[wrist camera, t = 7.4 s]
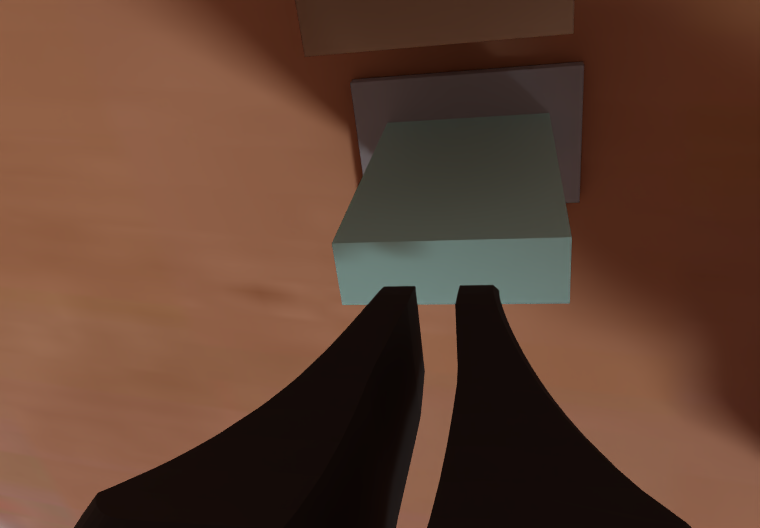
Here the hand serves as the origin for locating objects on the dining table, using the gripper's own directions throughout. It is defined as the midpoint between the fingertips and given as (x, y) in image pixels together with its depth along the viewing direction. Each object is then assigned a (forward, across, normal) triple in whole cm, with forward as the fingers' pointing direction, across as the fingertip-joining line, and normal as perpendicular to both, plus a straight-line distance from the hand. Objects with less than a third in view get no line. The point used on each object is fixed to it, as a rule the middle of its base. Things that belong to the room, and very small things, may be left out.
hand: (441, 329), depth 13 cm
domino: (+10, 0, -6) cm, 12 cm away
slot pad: (+10, 0, 0) cm, 10 cm away
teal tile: (+10, 0, 0) cm, 10 cm away
